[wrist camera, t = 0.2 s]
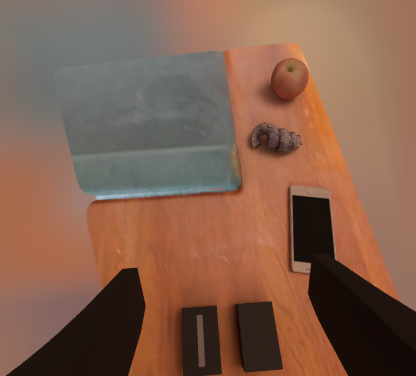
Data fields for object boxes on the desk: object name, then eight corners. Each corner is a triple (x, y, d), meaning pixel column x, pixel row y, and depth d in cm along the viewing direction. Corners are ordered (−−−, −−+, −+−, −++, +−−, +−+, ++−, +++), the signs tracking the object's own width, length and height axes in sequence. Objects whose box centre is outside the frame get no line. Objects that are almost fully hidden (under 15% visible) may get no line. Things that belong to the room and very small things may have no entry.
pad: (277, 364, 34) (283, 369, 31) (242, 367, 34) (244, 372, 31) (267, 301, 38) (271, 301, 35) (235, 304, 38) (237, 304, 35)
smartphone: (327, 190, 45) (330, 188, 45) (336, 277, 39) (338, 276, 38) (289, 186, 46) (290, 184, 45) (290, 271, 39) (292, 271, 39)
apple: (264, 84, 58) (271, 52, 51) (295, 80, 58) (306, 49, 51) (272, 109, 55) (280, 79, 47) (305, 105, 55) (319, 75, 48)
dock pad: (221, 368, 34) (221, 374, 31) (185, 371, 34) (183, 377, 31) (216, 305, 38) (216, 305, 35) (184, 308, 38) (181, 308, 35)
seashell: (248, 146, 52) (295, 155, 51) (249, 147, 47) (302, 157, 46) (254, 121, 51) (302, 129, 50) (255, 119, 45) (309, 128, 44)
